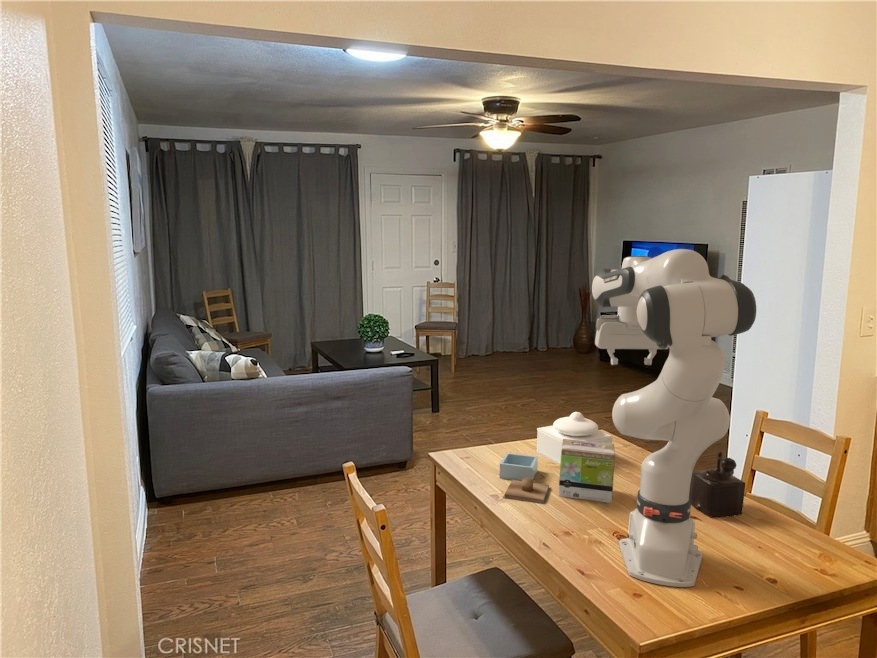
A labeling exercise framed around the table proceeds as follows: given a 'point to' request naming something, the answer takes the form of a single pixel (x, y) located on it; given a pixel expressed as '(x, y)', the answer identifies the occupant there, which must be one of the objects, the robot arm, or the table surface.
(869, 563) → the table surface
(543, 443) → the white lidded container
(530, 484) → the lid
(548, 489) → the mat
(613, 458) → the tea box
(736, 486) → the coffee grinder
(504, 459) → the dish
